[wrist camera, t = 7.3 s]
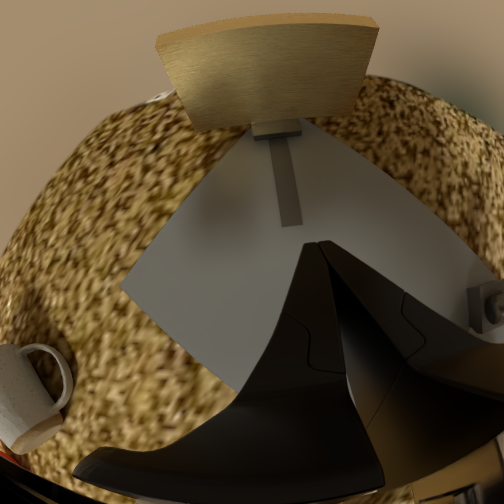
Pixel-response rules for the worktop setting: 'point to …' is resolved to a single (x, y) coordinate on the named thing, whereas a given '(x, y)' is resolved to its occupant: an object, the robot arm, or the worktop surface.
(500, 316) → the steel lever
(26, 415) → the ceramic mug
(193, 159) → the worktop surface
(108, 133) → the worktop surface
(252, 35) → the brass paddle
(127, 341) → the worktop surface
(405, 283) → the panel
